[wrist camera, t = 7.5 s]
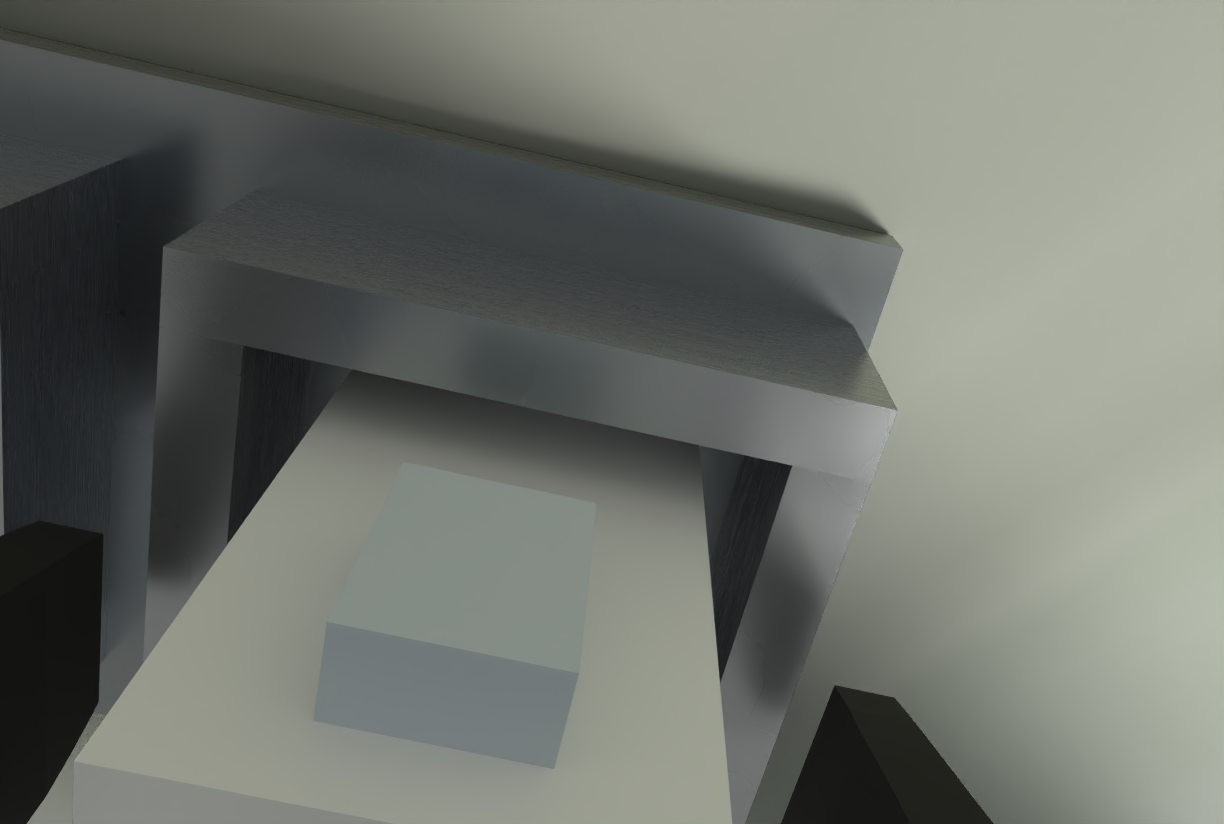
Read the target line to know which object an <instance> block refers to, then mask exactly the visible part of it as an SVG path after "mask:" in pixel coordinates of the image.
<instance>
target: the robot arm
mask: <svg viewBox="0 0 1224 824" xmlns="http://www.w3.org/2000/svg"><path fill="white" fill-rule="evenodd" d="M102 569H103V534H102V533H97V532H93V531H88V530H83V529H78V528H73V527H69V526H64V525H59V524H54V523H49V522H44V521H40V520H39V521H37V522H34V523H31V524H29V525H26V526H24V527H21V528H18V529H16V530H13V531H11V532H9V533H6V534H4V535H2V536H0V824H27V822H28V821H29V819H30V818H31V817H32V815H33V814H34V812H35V811H36V810H37V808H38V807H39V805H40V804H41V803H42V801H43V800H44V798H45V797H46V795H47V794H48V792H49V790H50V789H51V787H52V785H53V783H54V782H55V780H56V778H57V777H58V775H59V773H60V771H61V770H62V768H63V766H64V764H65V763H66V761H67V759H68V758H69V756H70V754H71V752H72V751H73V749H74V747H75V745H76V743H77V741H78V740H79V738H80V736H81V734H82V732H83V730H84V729H85V727H86V725H87V723H88V721H89V719H90V717H91V716H92V714H93V712H94V710H95V708H96V706H97V705H98V703H99V678H100V641H101V605H102ZM781 824H993V822H992V821H991V820H990V819H989V817H988V816H987V815H986V814H985V812H984V811H983V810H982V808H981V807H980V806H979V805H978V803H977V802H976V801H975V799H974V798H973V797H972V796H971V794H970V793H969V792H968V790H967V789H966V788H965V787H964V785H963V784H962V783H961V781H960V780H959V779H958V778H957V776H956V775H955V774H954V772H953V771H952V770H951V768H950V767H949V766H948V765H947V763H946V762H945V761H944V759H943V758H942V757H941V756H940V754H939V753H938V752H937V750H936V749H935V748H934V746H933V745H932V744H931V743H930V741H929V740H928V739H927V737H926V736H925V735H924V734H923V732H922V731H921V730H920V728H919V727H918V726H917V725H916V723H915V722H914V721H913V720H912V718H911V717H910V716H909V715H908V713H907V712H906V711H905V710H904V709H903V707H902V706H901V705H900V704H899V703H898V702H897V700H896V699H895V698H893V697H888V696H883V695H879V694H874V693H869V692H864V691H859V690H855V689H850V688H845V687H840V686H834V689H833V691H832V694H831V696H830V699H829V701H828V704H827V707H826V709H825V712H824V714H823V717H822V719H821V722H820V725H819V727H818V730H817V732H816V735H815V738H814V740H813V743H812V745H811V748H810V750H809V753H808V756H807V758H806V761H805V763H804V766H803V768H802V771H801V774H800V776H799V779H798V781H797V784H796V786H795V789H794V792H793V794H792V797H791V799H790V802H789V805H788V807H787V810H786V812H785V815H784V817H783V820H782V823H781Z"/></svg>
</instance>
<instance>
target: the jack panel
mask: <svg viewBox="0 0 1224 824" xmlns="http://www.w3.org/2000/svg"><path fill="white" fill-rule="evenodd" d="M902 252H903V249H902V247H901V246H900V245H899V244H898V242H897V241H896V240H895V239H894V237H893V236H890V235H886V234H882V233H877V232H873V231H869V230H865V229H860V228H856V227H852V226H847V225H843V224H839V223H835V222H830V221H826V220H822V219H817V218H813V217H809V216H804V215H800V214H796V213H792V212H787V211H783V210H779V209H774V208H770V207H766V206H762V205H757V204H753V203H749V202H744V201H740V200H736V199H731V198H727V197H723V196H719V195H714V194H710V193H706V192H701V191H697V190H693V189H688V188H684V187H680V186H676V185H671V184H667V183H663V182H658V181H654V180H650V179H646V178H641V177H637V176H633V175H628V174H624V173H620V172H615V171H611V170H607V169H603V168H598V167H594V166H590V165H585V164H581V163H577V162H573V161H568V160H564V159H560V158H555V157H551V156H547V155H542V154H538V153H534V152H530V151H525V150H521V149H517V148H512V147H508V146H504V145H500V144H495V143H491V142H487V141H482V140H478V139H474V138H469V137H465V136H461V135H457V134H452V133H448V132H444V131H439V130H435V129H431V128H427V127H422V126H418V125H414V124H409V123H405V122H401V121H396V120H392V119H388V118H384V117H379V116H375V115H371V114H366V113H362V112H358V111H354V110H349V109H345V108H341V107H336V106H332V105H328V104H323V103H319V102H315V101H311V100H306V99H302V98H298V97H293V96H289V95H285V94H280V93H276V92H272V91H268V90H263V89H259V88H255V87H250V86H246V85H242V84H238V83H233V82H229V81H225V80H220V79H216V78H212V77H207V76H203V75H199V74H195V73H190V72H186V71H182V70H177V69H173V68H169V67H165V66H160V65H156V64H152V63H147V62H143V61H139V60H134V59H130V58H126V57H122V56H117V55H113V54H109V53H104V52H100V51H96V50H92V49H87V48H83V47H79V46H74V45H70V44H66V43H61V42H57V41H53V40H49V39H44V38H40V37H36V36H31V35H27V34H23V33H19V32H14V31H10V30H6V29H1V28H0V536H2V535H4V534H6V533H9V532H11V531H13V530H16V529H18V528H21V527H24V526H26V525H29V524H31V523H34V522H37V521H39V520H40V521H44V522H49V523H54V524H59V525H64V526H69V527H73V528H78V529H83V530H88V531H93V532H97V533H102V534H103V569H102V605H101V641H100V678H99V703H98V705H97V706H96V708H95V710H94V712H96V713H101V714H106V715H107V714H108V712H109V711H110V710H111V708H112V707H113V705H114V704H115V703H116V701H117V700H118V698H119V697H120V695H121V694H122V693H123V691H124V690H125V688H126V687H127V686H128V684H129V683H130V681H131V680H132V679H133V677H134V676H135V674H136V673H137V672H138V670H139V669H140V667H141V666H142V664H143V663H144V662H145V660H146V659H147V657H148V656H149V655H150V653H151V652H152V650H153V649H154V648H155V646H156V645H157V643H158V642H159V641H160V639H161V638H162V636H163V635H164V633H165V632H166V631H167V629H168V628H169V626H170V625H171V624H172V622H173V621H174V619H175V618H176V617H177V615H178V614H179V612H180V611H181V610H182V608H183V607H184V605H185V604H186V602H187V601H188V600H189V598H190V597H191V595H192V594H193V593H194V591H195V590H196V588H197V587H198V586H199V584H200V583H201V581H202V580H203V579H204V577H205V576H206V574H207V573H208V571H209V570H210V569H211V567H212V566H213V564H214V563H215V562H216V560H217V559H218V557H219V556H220V555H221V553H222V552H223V550H224V549H225V548H226V546H227V545H228V543H229V542H230V540H231V539H232V538H233V536H234V535H235V533H236V532H237V531H238V529H239V528H240V526H241V525H242V524H243V522H244V521H245V519H246V518H247V517H248V515H249V514H250V512H251V511H252V510H253V508H254V507H255V505H256V504H257V502H258V501H259V500H260V498H261V497H262V495H263V494H264V493H265V491H266V490H267V488H268V487H269V486H270V484H271V483H272V481H273V480H274V479H275V477H276V476H277V474H278V473H279V471H280V470H281V469H282V467H283V466H284V464H285V463H286V462H287V460H288V459H289V457H290V456H291V455H292V453H293V452H294V450H295V449H296V448H297V446H298V445H299V443H300V442H301V440H302V439H303V438H304V436H305V435H306V433H307V432H308V431H309V429H310V428H311V426H312V425H313V424H314V422H315V421H316V419H317V418H318V417H319V415H320V414H321V412H322V411H323V409H324V408H325V407H326V405H327V404H328V402H329V401H330V400H331V398H332V397H333V395H334V394H335V393H336V391H337V390H338V388H339V387H340V386H341V384H342V383H343V381H344V380H345V378H346V377H347V376H348V374H349V373H350V371H351V370H352V369H353V370H358V371H362V372H367V373H372V374H376V375H381V376H385V377H390V378H394V379H399V380H404V381H408V382H413V383H417V384H422V385H426V386H431V387H436V388H440V389H445V390H449V391H454V392H458V393H463V394H468V395H472V396H477V397H481V398H486V399H490V400H495V401H500V402H504V403H509V404H513V405H518V406H522V407H527V408H531V409H536V410H541V411H545V412H550V413H554V414H559V415H563V416H568V417H573V418H577V419H582V420H586V421H591V422H595V423H600V424H605V425H609V426H614V427H618V428H623V429H627V430H632V431H637V432H641V433H646V434H650V435H655V436H659V437H664V438H668V439H673V440H678V441H682V442H687V443H691V444H696V445H699V451H700V462H701V474H702V485H703V496H704V508H705V519H706V531H707V542H708V553H709V565H710V576H711V587H712V599H713V610H714V621H715V633H716V644H717V655H718V667H719V678H720V690H721V701H722V712H723V724H724V735H725V746H726V758H727V769H728V780H729V792H730V803H731V814H732V824H745V823H746V820H747V818H748V815H749V812H750V809H751V807H752V804H753V801H754V799H755V796H756V793H757V790H758V788H759V785H760V782H761V780H762V777H763V774H764V771H765V769H766V766H767V763H768V761H769V758H770V755H771V752H772V750H773V747H774V744H775V742H776V739H777V736H778V734H779V731H780V728H781V725H782V723H783V720H784V717H785V715H786V712H787V709H788V706H789V704H790V701H791V698H792V696H793V693H794V690H795V687H796V685H797V682H798V679H799V677H800V674H801V671H802V668H803V666H804V663H805V660H806V658H807V655H808V652H809V650H810V647H811V644H812V641H813V639H814V636H815V633H816V631H817V628H818V625H819V622H820V620H821V617H822V614H823V612H824V609H825V606H826V603H827V601H828V598H829V595H830V593H831V590H832V587H833V584H834V582H835V579H836V576H837V574H838V571H839V568H840V566H841V563H842V560H843V557H844V555H845V552H846V549H847V547H848V544H849V541H850V538H851V536H852V533H853V530H854V528H855V525H856V522H857V519H858V517H859V514H860V511H861V509H862V506H863V503H864V500H865V498H866V495H867V492H868V490H869V487H870V484H871V482H872V479H873V476H874V473H875V471H876V468H877V465H878V463H879V460H880V457H881V454H882V452H883V449H884V446H885V444H886V441H887V438H888V435H889V433H890V430H891V427H892V425H893V422H894V419H895V416H896V414H897V411H898V410H897V408H896V406H895V404H894V402H893V400H892V399H891V397H890V395H889V393H888V391H887V389H886V387H885V385H884V383H883V381H882V379H881V377H880V375H879V374H878V372H877V370H876V368H875V366H874V364H873V362H872V360H871V358H870V356H869V354H868V350H869V347H870V344H871V341H872V338H873V335H874V332H875V330H876V327H877V324H878V321H879V318H880V315H881V312H882V309H883V307H884V304H885V301H886V298H887V295H888V292H889V289H890V286H891V283H892V281H893V278H894V275H895V272H896V269H897V266H898V263H899V260H900V258H901V255H902Z"/></svg>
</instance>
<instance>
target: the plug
mask: <svg viewBox="0 0 1224 824" xmlns="http://www.w3.org/2000/svg"><path fill="white" fill-rule="evenodd" d="M73 824H732V814H731V803H730V792H729V780H728V769H727V758H726V746H725V735H724V724H723V712H722V701H721V690H720V678H719V667H718V655H717V644H716V633H715V621H714V610H713V599H712V587H711V576H710V565H709V553H708V542H707V531H706V519H705V508H704V496H703V485H702V474H701V462H700V451H699V445H696V444H691V443H687V442H682V441H678V440H673V439H668V438H664V437H659V436H655V435H650V434H646V433H641V432H637V431H632V430H627V429H623V428H618V427H614V426H609V425H605V424H600V423H595V422H591V421H586V420H582V419H577V418H573V417H568V416H563V415H559V414H554V413H550V412H545V411H541V410H536V409H531V408H527V407H522V406H518V405H513V404H509V403H504V402H500V401H495V400H490V399H486V398H481V397H477V396H472V395H468V394H463V393H458V392H454V391H449V390H445V389H440V388H436V387H431V386H426V385H422V384H417V383H413V382H408V381H404V380H399V379H394V378H390V377H385V376H381V375H376V374H372V373H367V372H362V371H358V370H353V369H352V370H351V371H350V373H349V374H348V376H347V377H346V378H345V380H344V381H343V383H342V384H341V386H340V387H339V388H338V390H337V391H336V393H335V394H334V395H333V397H332V398H331V400H330V401H329V402H328V404H327V405H326V407H325V408H324V409H323V411H322V412H321V414H320V415H319V417H318V418H317V419H316V421H315V422H314V424H313V425H312V426H311V428H310V429H309V431H308V432H307V433H306V435H305V436H304V438H303V439H302V440H301V442H300V443H299V445H298V446H297V448H296V449H295V450H294V452H293V453H292V455H291V456H290V457H289V459H288V460H287V462H286V463H285V464H284V466H283V467H282V469H281V470H280V471H279V473H278V474H277V476H276V477H275V479H274V480H273V481H272V483H271V484H270V486H269V487H268V488H267V490H266V491H265V493H264V494H263V495H262V497H261V498H260V500H259V501H258V502H257V504H256V505H255V507H254V508H253V510H252V511H251V512H250V514H249V515H248V517H247V518H246V519H245V521H244V522H243V524H242V525H241V526H240V528H239V529H238V531H237V532H236V533H235V535H234V536H233V538H232V539H231V540H230V542H229V543H228V545H227V546H226V548H225V549H224V550H223V552H222V553H221V555H220V556H219V557H218V559H217V560H216V562H215V563H214V564H213V566H212V567H211V569H210V570H209V571H208V573H207V574H206V576H205V577H204V579H203V580H202V581H201V583H200V584H199V586H198V587H197V588H196V590H195V591H194V593H193V594H192V595H191V597H190V598H189V600H188V601H187V602H186V604H185V605H184V607H183V608H182V610H181V611H180V612H179V614H178V615H177V617H176V618H175V619H174V621H173V622H172V624H171V625H170V626H169V628H168V629H167V631H166V632H165V633H164V635H163V636H162V638H161V639H160V641H159V642H158V643H157V645H156V646H155V648H154V649H153V650H152V652H151V653H150V655H149V656H148V657H147V659H146V660H145V662H144V663H143V664H142V666H141V667H140V669H139V670H138V672H137V673H136V674H135V676H134V677H133V679H132V680H131V681H130V683H129V684H128V686H127V687H126V688H125V690H124V691H123V693H122V694H121V695H120V697H119V698H118V700H117V701H116V703H115V704H114V705H113V707H112V708H111V710H110V711H109V712H108V714H107V715H106V717H105V718H104V719H103V721H102V722H101V724H100V725H99V726H98V728H97V729H96V731H95V732H94V734H93V735H92V736H91V738H90V739H89V741H88V742H87V743H86V745H85V746H84V748H83V749H82V750H81V752H80V753H79V755H78V756H77V757H76V759H75V760H74V784H73Z"/></svg>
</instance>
